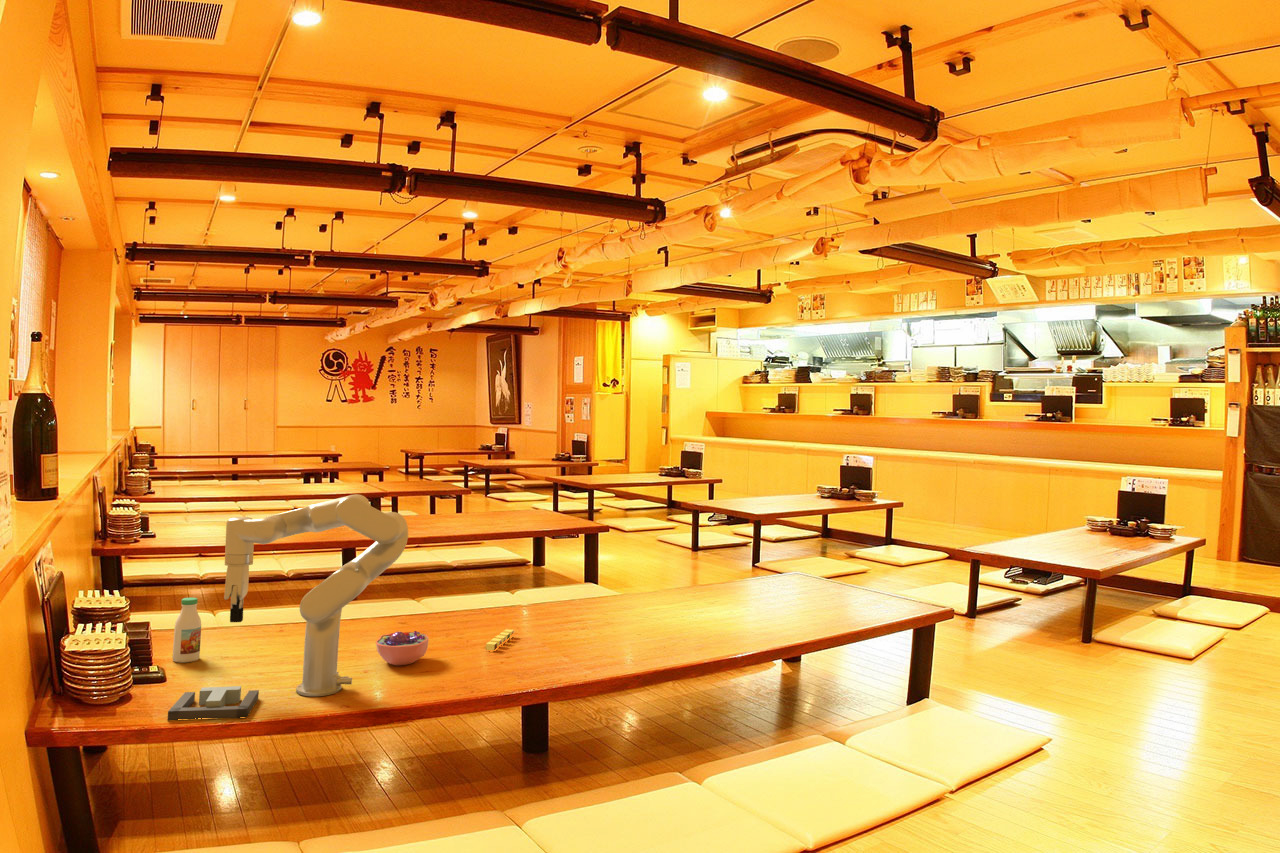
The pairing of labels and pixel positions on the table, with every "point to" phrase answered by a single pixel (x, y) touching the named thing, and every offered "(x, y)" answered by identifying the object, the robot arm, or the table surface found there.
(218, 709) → the corral
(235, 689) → the t block
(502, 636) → the yellow segmented bar
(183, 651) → the milk bottle
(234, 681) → the table surface
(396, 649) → the cell model
